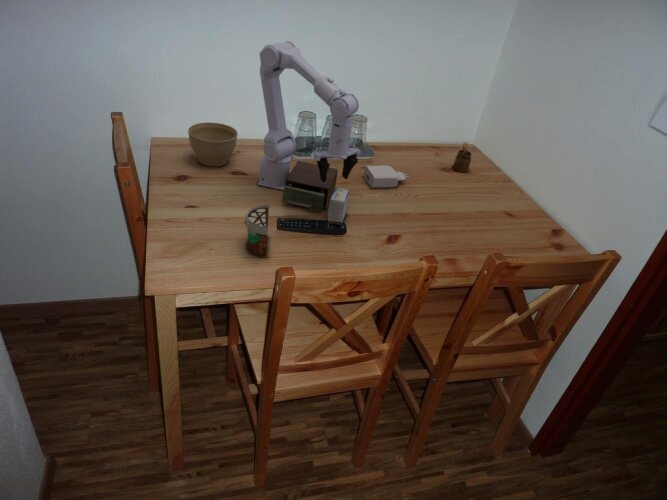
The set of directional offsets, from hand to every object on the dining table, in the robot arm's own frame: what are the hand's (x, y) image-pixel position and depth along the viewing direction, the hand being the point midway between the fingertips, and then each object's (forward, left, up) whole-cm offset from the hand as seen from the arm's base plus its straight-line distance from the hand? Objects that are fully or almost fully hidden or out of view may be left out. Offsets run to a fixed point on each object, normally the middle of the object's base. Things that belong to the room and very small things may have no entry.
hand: (333, 179), depth 155 cm
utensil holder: (+41, +50, -10) cm, 66 cm away
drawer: (-8, -2, -9) cm, 12 cm away
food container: (-15, -29, -10) cm, 34 cm away
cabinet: (-8, +5, -10) cm, 14 cm away
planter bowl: (-45, +14, -10) cm, 48 cm away
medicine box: (+3, -6, -10) cm, 12 cm away
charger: (+15, +26, -10) cm, 32 cm away
